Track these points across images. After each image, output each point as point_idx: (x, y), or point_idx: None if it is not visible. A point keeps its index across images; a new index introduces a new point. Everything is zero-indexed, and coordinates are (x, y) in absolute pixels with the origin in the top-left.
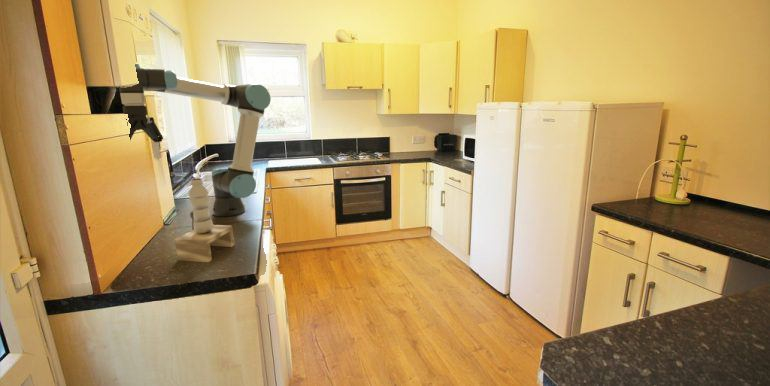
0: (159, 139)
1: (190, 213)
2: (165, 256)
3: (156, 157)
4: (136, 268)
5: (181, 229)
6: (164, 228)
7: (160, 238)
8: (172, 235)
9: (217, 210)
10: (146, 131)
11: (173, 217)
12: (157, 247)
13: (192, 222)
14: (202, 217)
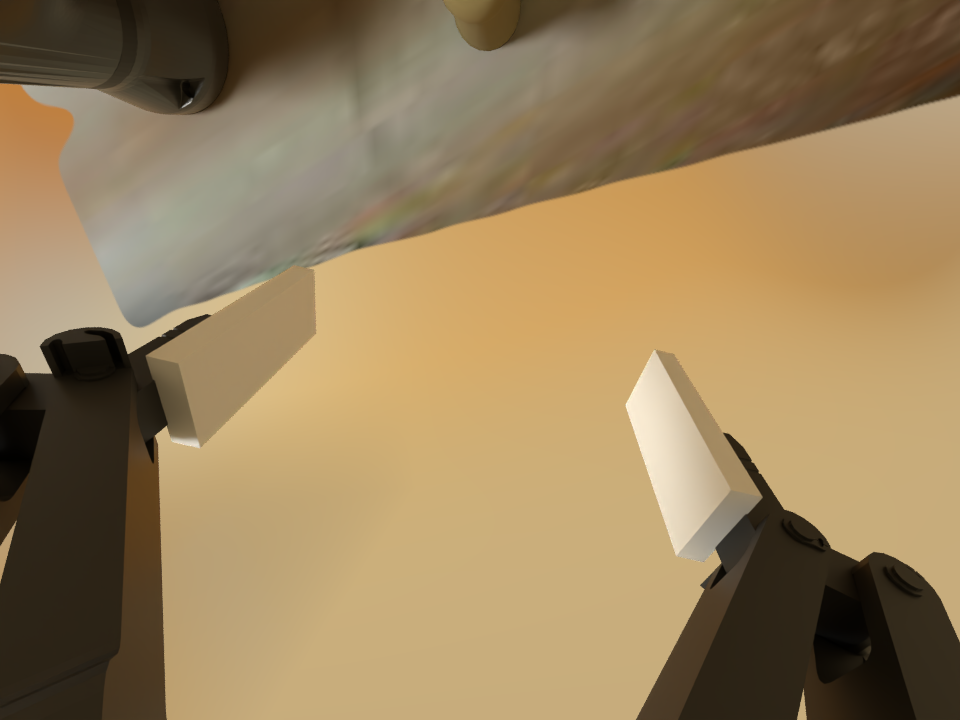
0: (71, 376)
1: (493, 8)
2: (732, 39)
3: (313, 310)
4: (826, 99)
5: (412, 157)
6: (403, 238)
7: (511, 190)
8: (481, 157)
9: (204, 55)
10: (148, 651)
11: None
12: (611, 144)
13: (498, 16)
14: None
